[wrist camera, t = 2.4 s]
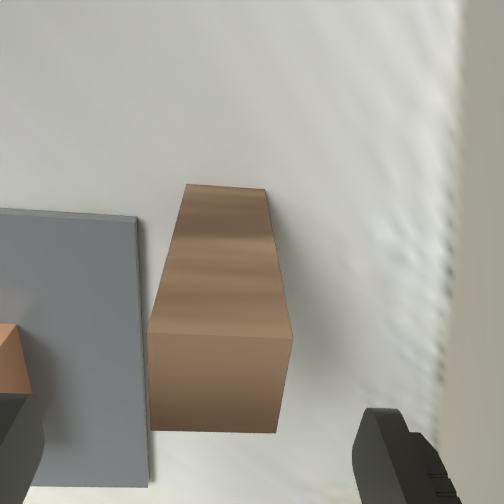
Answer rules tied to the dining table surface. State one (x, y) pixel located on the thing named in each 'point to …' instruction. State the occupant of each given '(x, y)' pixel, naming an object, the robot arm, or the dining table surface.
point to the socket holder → (76, 342)
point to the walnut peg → (219, 318)
